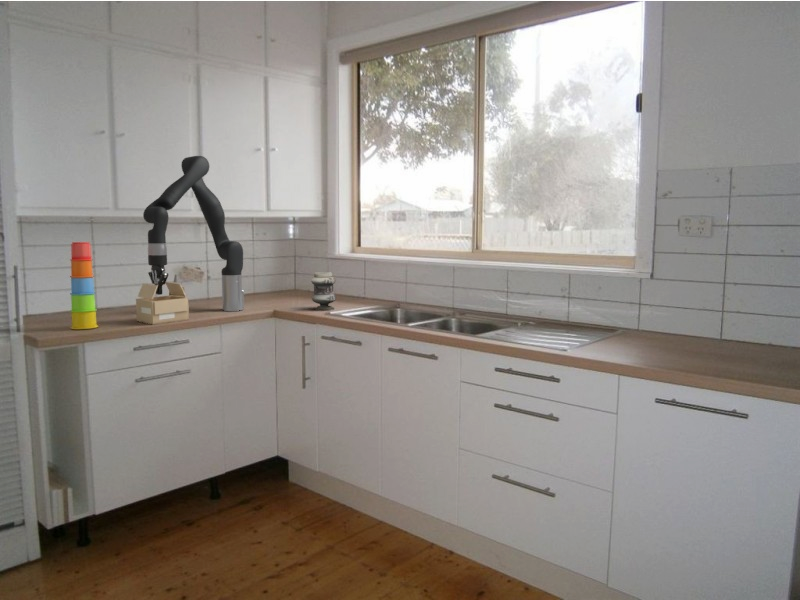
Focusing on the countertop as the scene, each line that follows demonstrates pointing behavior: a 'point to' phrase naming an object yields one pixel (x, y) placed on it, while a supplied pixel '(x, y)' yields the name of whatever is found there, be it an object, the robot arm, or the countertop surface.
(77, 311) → the stacking cups
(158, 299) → the carton
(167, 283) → the flap
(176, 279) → the squeeze bottle
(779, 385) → the countertop surface
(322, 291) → the apothecary jar
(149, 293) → the flap
